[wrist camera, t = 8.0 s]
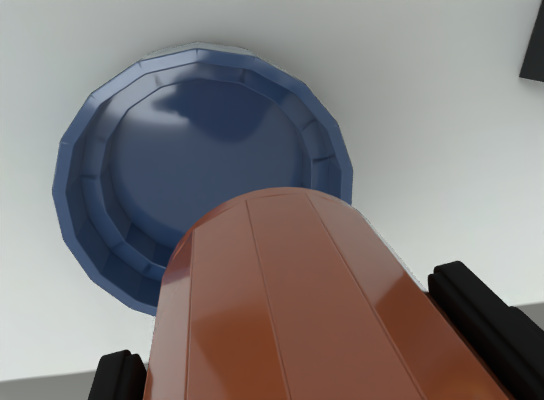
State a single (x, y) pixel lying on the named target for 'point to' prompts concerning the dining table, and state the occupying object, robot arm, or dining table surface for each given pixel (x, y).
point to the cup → (303, 312)
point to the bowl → (184, 157)
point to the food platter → (535, 52)
